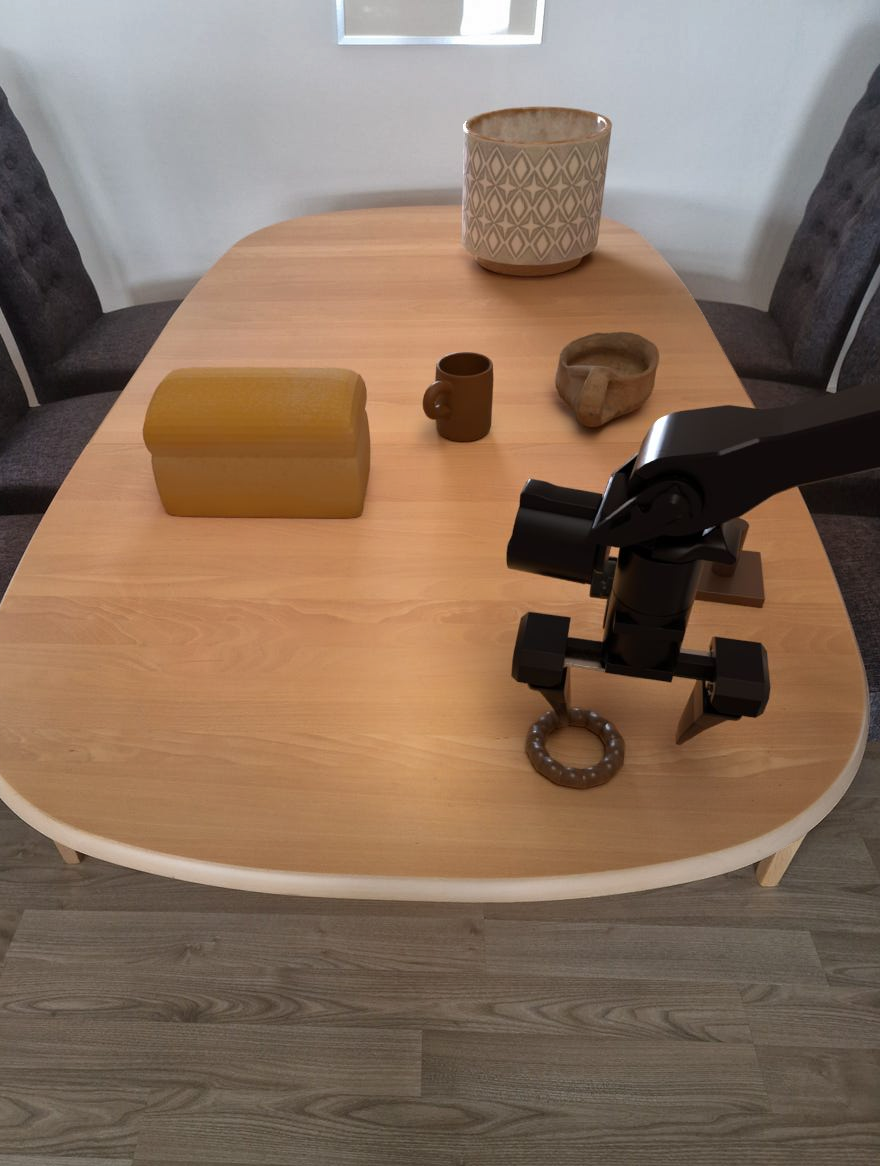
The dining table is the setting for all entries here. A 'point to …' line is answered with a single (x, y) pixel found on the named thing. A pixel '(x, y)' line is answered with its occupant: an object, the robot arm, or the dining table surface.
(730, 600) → the stand
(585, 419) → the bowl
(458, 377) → the mug
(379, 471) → the dining table surface
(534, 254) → the planter
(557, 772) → the ring
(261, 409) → the bread
